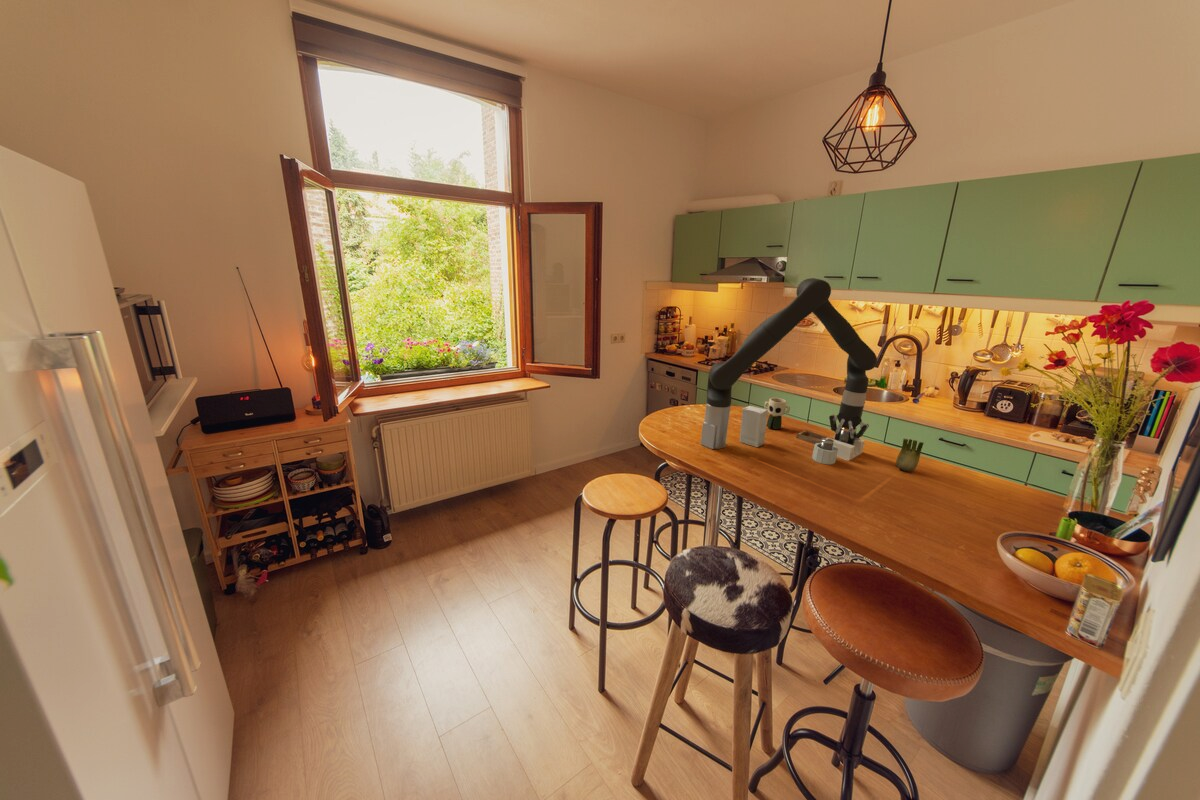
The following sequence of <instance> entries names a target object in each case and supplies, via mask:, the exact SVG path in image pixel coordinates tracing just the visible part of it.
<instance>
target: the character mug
mask: <svg viewBox="0 0 1200 800" xmlns="http://www.w3.org/2000/svg"><path fill="white" fill-rule="evenodd" d="M787 402H788V401H787V400H786V399H783V398H781V397H780V398H779V397H770V398H769V400H768V401H764V406H763V409H766V410H768V412H767V414H769V415H768V417H767V422H766V428H767V427H768V428H769V429H771V427H772V429H773V430H780V429H781V428H782V424H783V423H782V422H783V421H782V416H783V415H785V414H790V410H791V406H788V405H787ZM767 405H768V406H767Z"/></svg>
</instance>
